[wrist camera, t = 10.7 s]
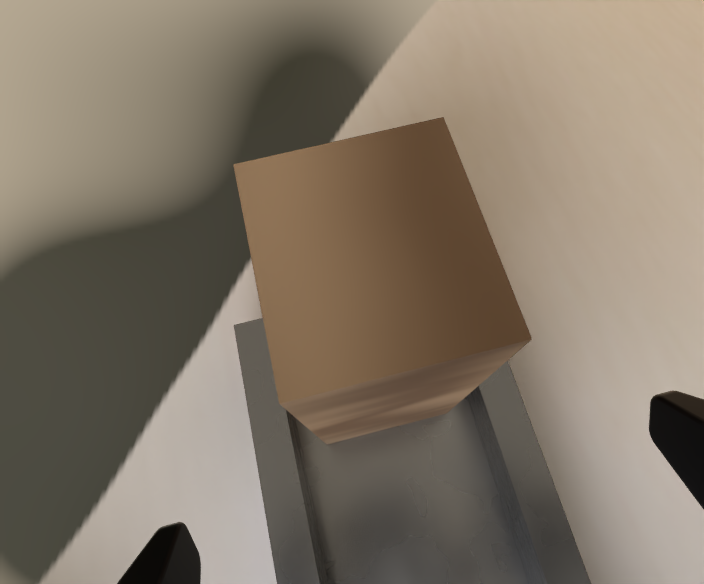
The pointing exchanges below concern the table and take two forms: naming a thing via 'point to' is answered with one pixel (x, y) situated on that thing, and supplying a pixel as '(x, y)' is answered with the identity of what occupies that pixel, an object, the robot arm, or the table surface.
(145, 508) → the table surface
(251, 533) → the table surface
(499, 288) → the wooden tall block
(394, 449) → the gray rectangular tray
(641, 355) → the table surface
